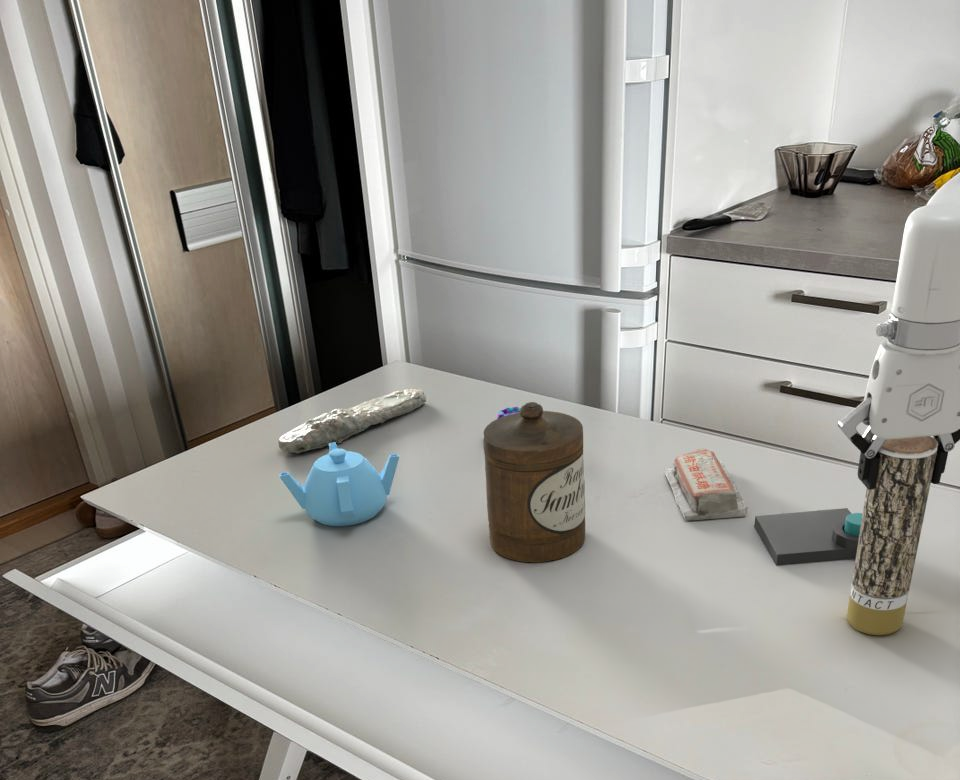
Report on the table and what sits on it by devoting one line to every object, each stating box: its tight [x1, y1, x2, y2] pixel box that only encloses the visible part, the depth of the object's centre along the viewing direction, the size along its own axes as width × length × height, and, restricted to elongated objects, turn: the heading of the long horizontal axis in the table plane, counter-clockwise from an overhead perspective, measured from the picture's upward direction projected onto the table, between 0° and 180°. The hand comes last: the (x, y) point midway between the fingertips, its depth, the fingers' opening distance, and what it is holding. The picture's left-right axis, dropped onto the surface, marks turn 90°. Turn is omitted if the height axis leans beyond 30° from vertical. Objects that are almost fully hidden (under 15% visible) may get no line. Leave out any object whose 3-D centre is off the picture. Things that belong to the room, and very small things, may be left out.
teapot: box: [278, 442, 400, 527], centre depth 162 cm, size 15×15×11 cm
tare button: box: [844, 512, 863, 536], centre depth 139 cm, size 4×4×2 cm
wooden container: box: [482, 401, 586, 563], centre depth 146 cm, size 15×15×22 cm
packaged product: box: [664, 448, 748, 521], centre depth 158 cm, size 18×5×10 cm
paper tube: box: [846, 436, 938, 636], centre depth 119 cm, size 7×7×25 cm
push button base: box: [753, 507, 859, 567], centre depth 143 cm, size 15×13×4 cm
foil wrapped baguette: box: [278, 388, 427, 454], centre depth 194 cm, size 35×5×10 cm
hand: (899, 480), depth 115 cm, fingers closed on paper tube, 6 cm apart
